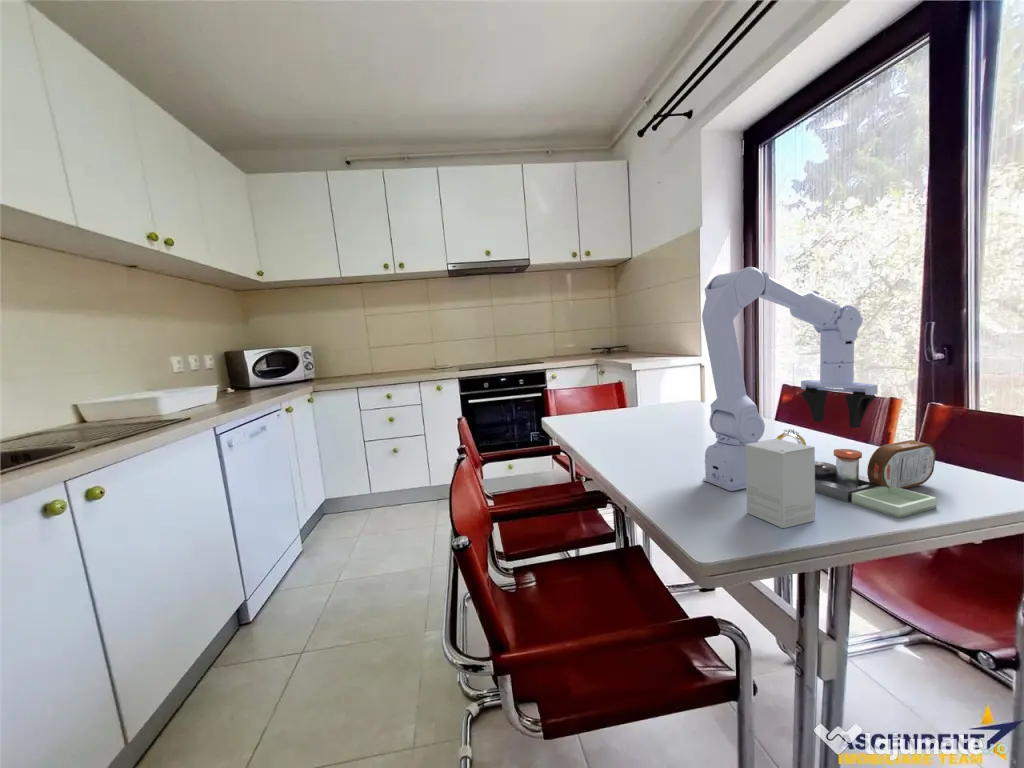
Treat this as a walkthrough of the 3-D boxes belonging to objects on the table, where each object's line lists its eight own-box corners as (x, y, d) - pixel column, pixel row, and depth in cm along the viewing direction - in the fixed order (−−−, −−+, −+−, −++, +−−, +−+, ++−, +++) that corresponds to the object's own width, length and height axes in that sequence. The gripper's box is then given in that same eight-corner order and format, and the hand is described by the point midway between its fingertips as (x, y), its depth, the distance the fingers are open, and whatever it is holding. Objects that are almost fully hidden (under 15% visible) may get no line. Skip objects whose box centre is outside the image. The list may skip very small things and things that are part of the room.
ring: (773, 459, 101) (772, 427, 100) (784, 458, 102) (784, 426, 101) (797, 467, 94) (797, 433, 93) (809, 466, 95) (809, 431, 94)
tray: (899, 518, 68) (899, 507, 67) (851, 502, 74) (851, 493, 74) (936, 507, 70) (936, 497, 70) (887, 493, 77) (887, 484, 77)
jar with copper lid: (851, 497, 77) (851, 456, 76) (827, 489, 81) (828, 450, 80) (867, 493, 78) (867, 452, 77) (843, 486, 82) (843, 447, 81)
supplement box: (817, 521, 69) (817, 446, 67) (782, 529, 67) (781, 453, 65) (777, 505, 76) (776, 437, 74) (744, 512, 74) (743, 443, 72)
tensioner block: (847, 502, 75) (847, 479, 74) (786, 482, 86) (786, 462, 86) (886, 492, 78) (886, 471, 77) (821, 474, 89) (821, 455, 89)
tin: (918, 477, 82) (920, 436, 82) (939, 482, 79) (940, 439, 78) (864, 490, 78) (865, 446, 77) (883, 496, 75) (884, 450, 74)
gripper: (888, 361, 84) (886, 427, 85) (816, 360, 98) (816, 417, 99) (864, 364, 82) (862, 432, 83) (794, 362, 95) (794, 420, 97)
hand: (836, 424), depth 91 cm, fingers open, 7 cm apart
